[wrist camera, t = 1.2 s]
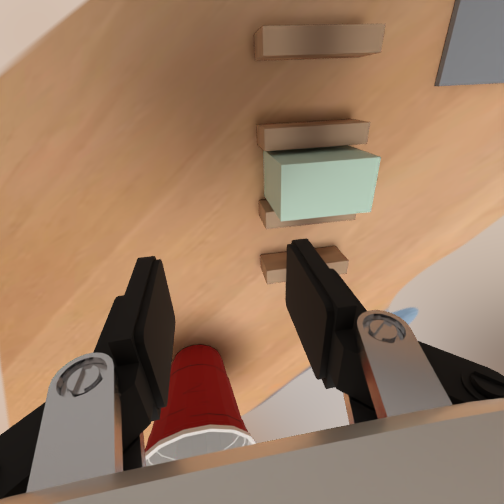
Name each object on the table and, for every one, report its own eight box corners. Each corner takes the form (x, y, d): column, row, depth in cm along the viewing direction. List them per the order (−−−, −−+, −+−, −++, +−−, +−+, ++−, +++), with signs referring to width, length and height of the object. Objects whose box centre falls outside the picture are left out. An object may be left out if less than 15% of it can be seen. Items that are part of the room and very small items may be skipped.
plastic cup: (258, 362, 36) (282, 468, 26) (189, 399, 38) (186, 514, 27) (210, 311, 31) (216, 421, 21) (132, 357, 32) (101, 480, 22)
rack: (362, 32, 20) (385, 23, 18) (333, 258, 30) (346, 273, 28) (254, 34, 20) (262, 25, 17) (260, 267, 29) (266, 284, 27)
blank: (342, 143, 24) (381, 157, 19) (336, 188, 26) (370, 211, 21) (263, 149, 23) (281, 165, 18) (263, 195, 25) (280, 221, 20)
